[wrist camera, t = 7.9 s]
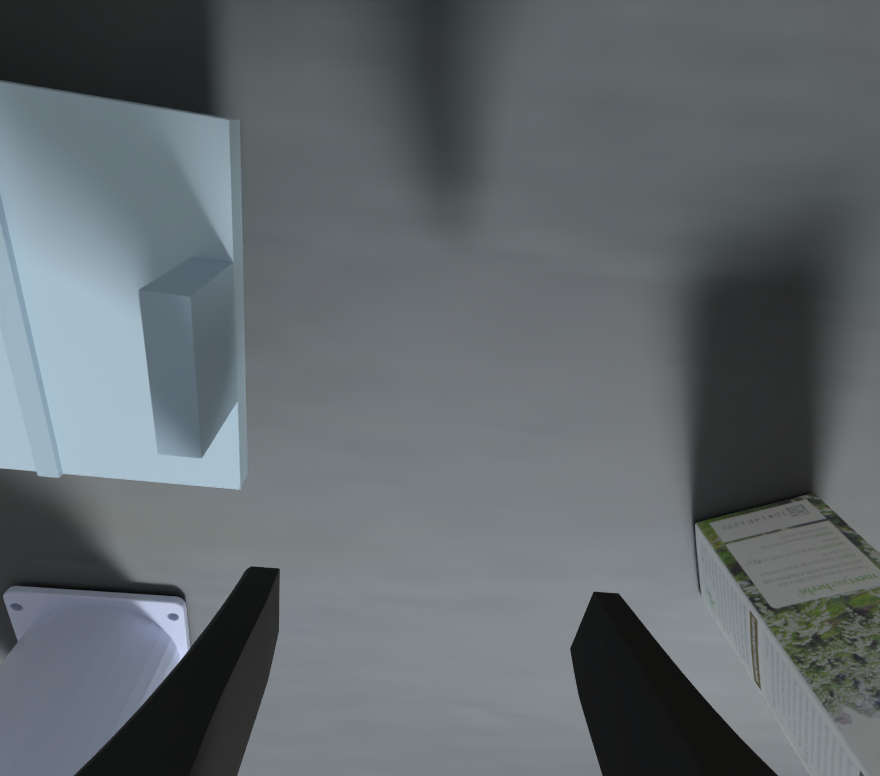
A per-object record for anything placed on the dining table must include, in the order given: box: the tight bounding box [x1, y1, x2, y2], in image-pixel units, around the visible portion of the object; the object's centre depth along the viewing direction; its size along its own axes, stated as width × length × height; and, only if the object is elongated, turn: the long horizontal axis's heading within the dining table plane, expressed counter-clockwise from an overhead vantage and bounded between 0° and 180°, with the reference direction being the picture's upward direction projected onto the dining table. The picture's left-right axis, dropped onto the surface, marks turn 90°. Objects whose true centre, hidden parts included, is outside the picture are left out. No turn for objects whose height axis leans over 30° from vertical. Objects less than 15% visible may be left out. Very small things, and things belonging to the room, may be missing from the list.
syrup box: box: [695, 493, 880, 776], centre depth 19 cm, size 6×6×14 cm
